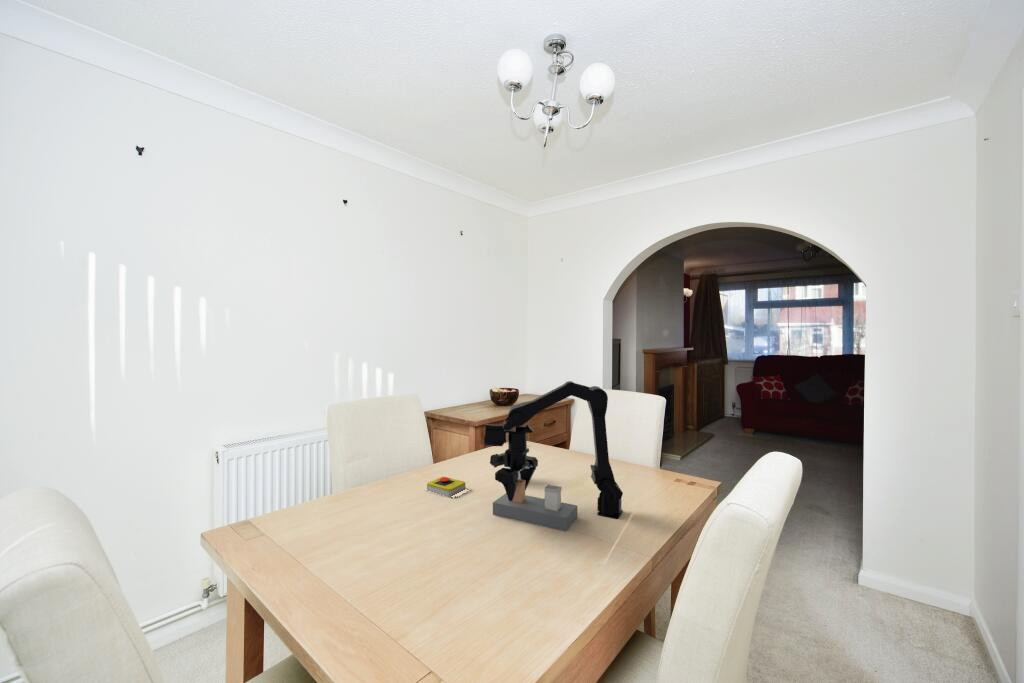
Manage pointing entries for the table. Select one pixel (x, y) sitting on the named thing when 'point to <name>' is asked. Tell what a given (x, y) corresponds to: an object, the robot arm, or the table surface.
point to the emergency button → (446, 486)
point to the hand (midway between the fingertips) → (517, 495)
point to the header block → (536, 512)
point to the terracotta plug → (519, 492)
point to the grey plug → (553, 497)
